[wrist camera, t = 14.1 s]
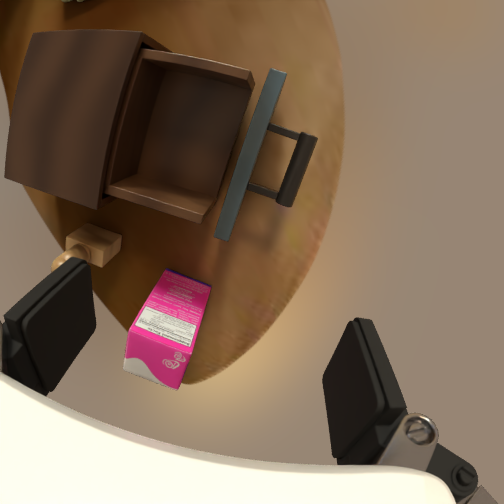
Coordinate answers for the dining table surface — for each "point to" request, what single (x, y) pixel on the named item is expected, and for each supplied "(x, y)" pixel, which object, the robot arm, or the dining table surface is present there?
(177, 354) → the supplement box
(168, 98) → the drawer
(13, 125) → the cabinet
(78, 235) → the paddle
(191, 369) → the dining table surface
